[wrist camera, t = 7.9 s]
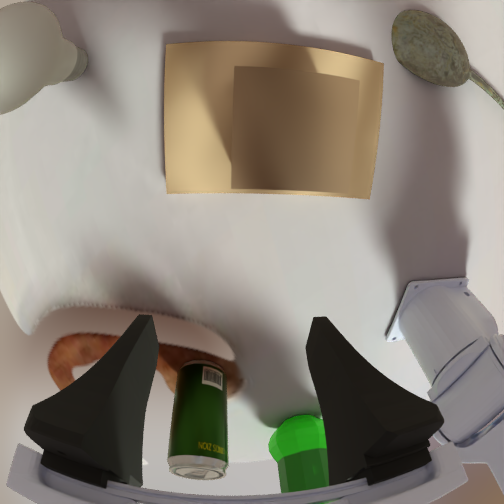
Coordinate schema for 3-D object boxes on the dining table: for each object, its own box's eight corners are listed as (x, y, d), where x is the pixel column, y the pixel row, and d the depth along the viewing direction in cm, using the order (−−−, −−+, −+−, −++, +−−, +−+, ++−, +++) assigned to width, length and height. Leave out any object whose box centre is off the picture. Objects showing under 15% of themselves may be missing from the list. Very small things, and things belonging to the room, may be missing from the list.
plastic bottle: (344, 405, 35) (384, 554, 13) (313, 435, 39) (337, 560, 17) (280, 404, 33) (305, 579, 11) (257, 435, 37) (270, 573, 16)
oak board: (375, 65, 15) (383, 63, 14) (362, 194, 20) (369, 199, 19) (170, 48, 14) (166, 44, 13) (170, 188, 19) (166, 193, 18)
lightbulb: (55, 118, 15) (-56, 149, 5) (42, 53, 12) (-62, 49, 2) (123, 83, 15) (15, 73, 5) (108, 14, 12) (15, -34, 2)
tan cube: (323, 87, 15) (359, 80, 10) (316, 168, 17) (348, 193, 13) (234, 79, 14) (234, 66, 10) (231, 165, 17) (231, 189, 12)
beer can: (185, 352, 27) (173, 461, 16) (234, 365, 28) (238, 470, 17) (173, 378, 29) (161, 474, 18) (217, 390, 30) (216, 482, 20)
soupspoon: (389, -1, 13) (373, 59, 16) (409, -11, 10) (393, 55, 13) (531, 119, 16) (519, 166, 19) (550, 126, 13) (538, 176, 16)
